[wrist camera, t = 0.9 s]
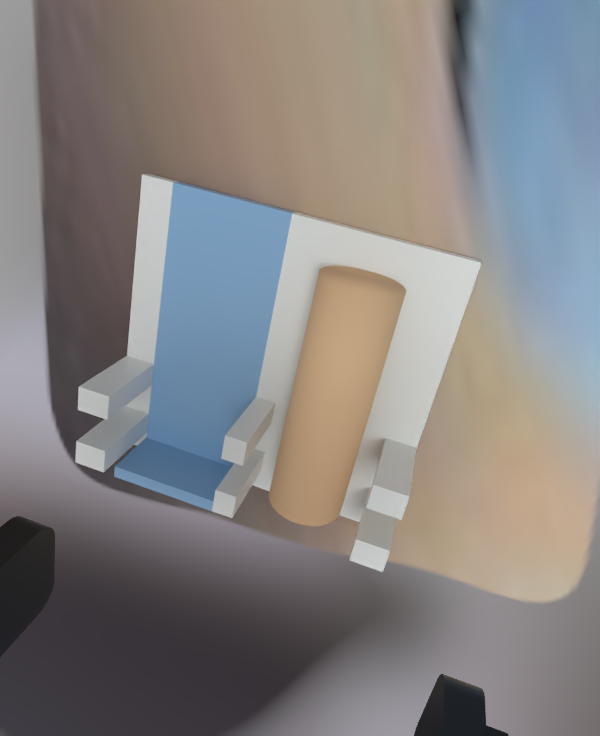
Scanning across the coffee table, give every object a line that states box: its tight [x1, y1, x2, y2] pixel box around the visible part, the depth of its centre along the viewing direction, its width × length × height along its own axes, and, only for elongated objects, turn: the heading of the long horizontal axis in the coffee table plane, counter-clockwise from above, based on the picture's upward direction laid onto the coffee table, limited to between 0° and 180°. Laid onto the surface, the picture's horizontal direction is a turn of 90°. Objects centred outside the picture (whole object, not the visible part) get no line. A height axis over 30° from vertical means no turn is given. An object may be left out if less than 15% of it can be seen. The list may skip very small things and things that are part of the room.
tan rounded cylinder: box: [269, 266, 406, 526], centre depth 24 cm, size 11×4×4 cm, turn 168°
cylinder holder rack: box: [75, 174, 482, 572], centre depth 25 cm, size 14×15×5 cm
